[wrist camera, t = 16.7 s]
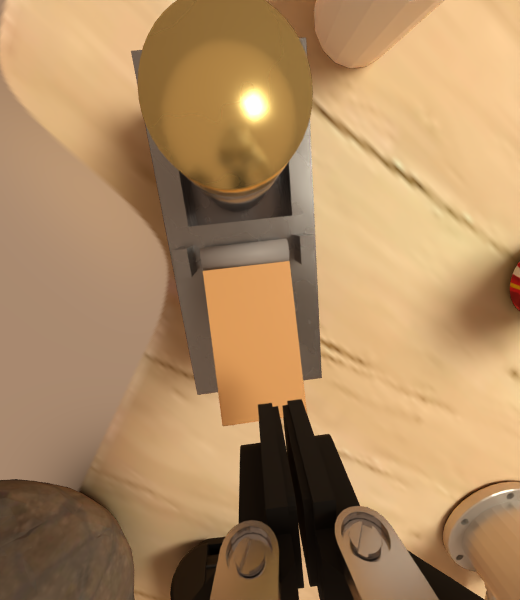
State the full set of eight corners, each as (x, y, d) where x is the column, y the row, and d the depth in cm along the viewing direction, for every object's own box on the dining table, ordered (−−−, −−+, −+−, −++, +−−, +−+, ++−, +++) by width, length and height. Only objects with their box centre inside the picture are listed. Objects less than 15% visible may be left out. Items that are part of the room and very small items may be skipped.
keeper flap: (202, 249, 15) (198, 246, 13) (284, 240, 15) (287, 236, 14) (224, 417, 15) (222, 428, 14) (302, 406, 15) (307, 416, 14)
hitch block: (300, 339, 24) (330, 394, 16) (207, 351, 23) (193, 413, 16) (284, 95, 18) (316, 8, 11) (164, 105, 18) (113, 22, 11)
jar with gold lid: (267, 137, 17) (310, -16, 6) (271, 209, 18) (313, 184, 7) (198, 141, 17) (121, -11, 6) (206, 213, 18) (153, 193, 7)
